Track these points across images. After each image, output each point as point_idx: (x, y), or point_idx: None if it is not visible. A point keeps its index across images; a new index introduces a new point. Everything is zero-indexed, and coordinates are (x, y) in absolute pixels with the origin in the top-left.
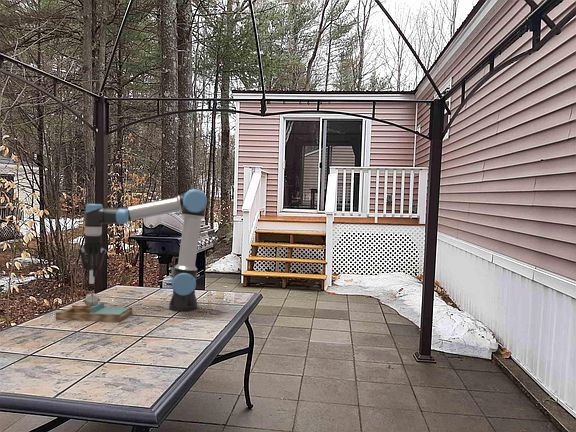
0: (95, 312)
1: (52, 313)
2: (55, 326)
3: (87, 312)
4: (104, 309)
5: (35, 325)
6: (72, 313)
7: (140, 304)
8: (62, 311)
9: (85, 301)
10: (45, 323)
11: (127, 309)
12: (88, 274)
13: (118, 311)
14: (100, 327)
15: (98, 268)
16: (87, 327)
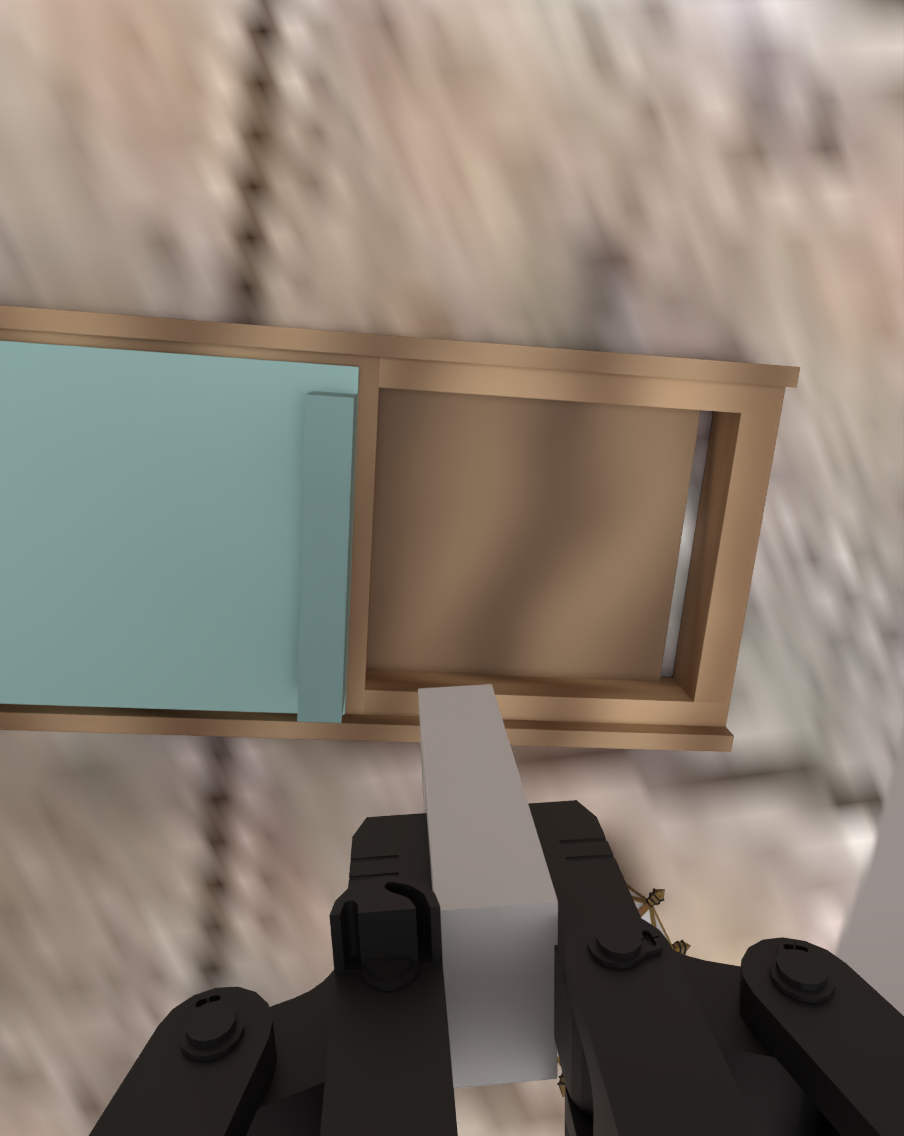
0: (296, 415)
1: (884, 626)
2: (645, 48)
3: (513, 669)
4: (250, 585)
5: (888, 84)
6: (579, 350)
7: (94, 1099)
8: (760, 515)
9: (635, 894)
10: (809, 185)
11: None
12: (575, 841)
13: (9, 498)
14: (69, 27)
15: (188, 1004)
16: (236, 18)
